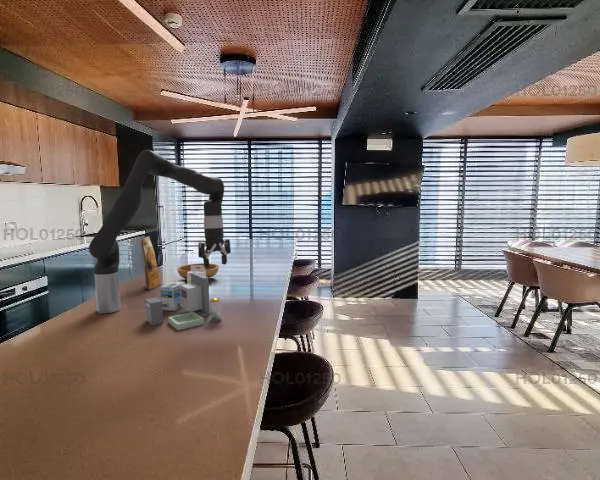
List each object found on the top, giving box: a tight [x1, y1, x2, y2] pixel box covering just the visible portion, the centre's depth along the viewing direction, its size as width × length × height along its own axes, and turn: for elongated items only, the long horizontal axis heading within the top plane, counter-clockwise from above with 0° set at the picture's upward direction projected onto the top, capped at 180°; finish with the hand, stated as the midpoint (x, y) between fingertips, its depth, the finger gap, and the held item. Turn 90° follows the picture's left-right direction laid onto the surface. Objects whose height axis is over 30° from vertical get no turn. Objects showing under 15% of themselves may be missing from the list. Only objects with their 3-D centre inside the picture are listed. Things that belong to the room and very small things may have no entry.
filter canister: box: [209, 297, 222, 323], centre depth 144 cm, size 4×4×9 cm
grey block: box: [144, 297, 164, 326], centre depth 142 cm, size 5×7×9 cm, turn 39°
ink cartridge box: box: [186, 265, 206, 284], centre depth 182 cm, size 9×5×15 cm, turn 84°
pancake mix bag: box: [141, 235, 161, 290], centre depth 198 cm, size 7×19×28 cm, turn 5°
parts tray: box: [167, 311, 205, 331], centre depth 141 cm, size 10×10×2 cm
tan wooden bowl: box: [176, 262, 220, 280], centre depth 212 cm, size 30×24×8 cm
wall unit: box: [180, 272, 210, 318], centre depth 154 cm, size 12×16×16 cm
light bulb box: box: [159, 281, 186, 312], centre depth 161 cm, size 11×7×11 cm, turn 168°
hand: (215, 265), depth 145 cm, fingers open, 8 cm apart
